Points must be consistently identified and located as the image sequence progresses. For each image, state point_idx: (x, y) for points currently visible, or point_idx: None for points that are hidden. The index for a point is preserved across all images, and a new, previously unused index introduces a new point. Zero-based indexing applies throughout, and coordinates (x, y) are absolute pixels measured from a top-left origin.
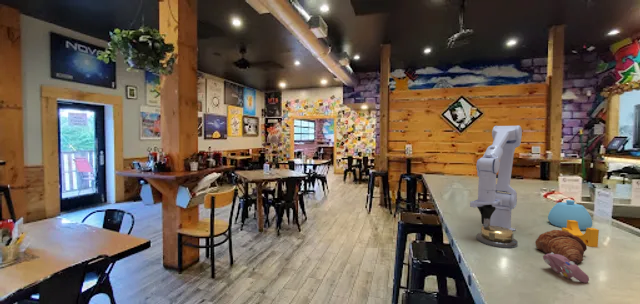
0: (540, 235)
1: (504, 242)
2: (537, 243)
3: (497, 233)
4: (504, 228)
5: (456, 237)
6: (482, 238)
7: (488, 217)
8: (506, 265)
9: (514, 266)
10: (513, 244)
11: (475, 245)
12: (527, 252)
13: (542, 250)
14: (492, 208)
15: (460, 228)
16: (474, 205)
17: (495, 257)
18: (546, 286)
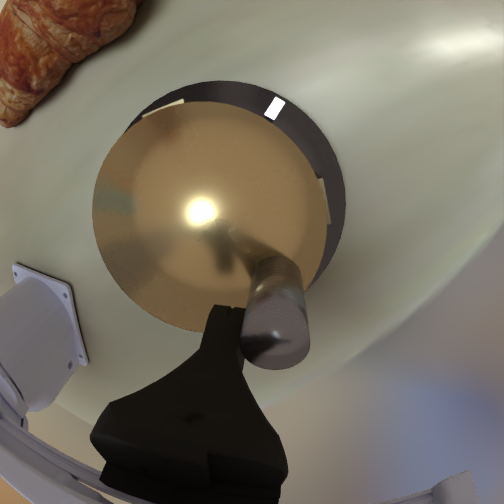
0: (70, 8)
1: None
2: (128, 6)
3: (306, 160)
4: (110, 223)
5: (369, 341)
6: None
7: (236, 355)
8: (482, 29)
9: (463, 5)
10: (225, 81)
11: (409, 224)
12: (227, 15)
13: (139, 2)
14: (195, 450)
15: None
16: (474, 492)
17: (464, 80)
18: None
